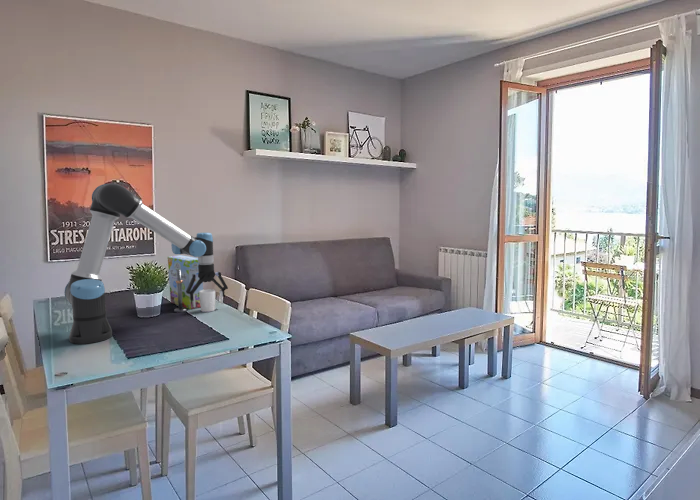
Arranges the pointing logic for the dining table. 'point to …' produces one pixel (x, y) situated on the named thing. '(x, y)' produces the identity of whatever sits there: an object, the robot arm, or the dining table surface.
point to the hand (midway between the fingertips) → (208, 305)
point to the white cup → (207, 300)
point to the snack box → (187, 269)
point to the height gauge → (179, 293)
